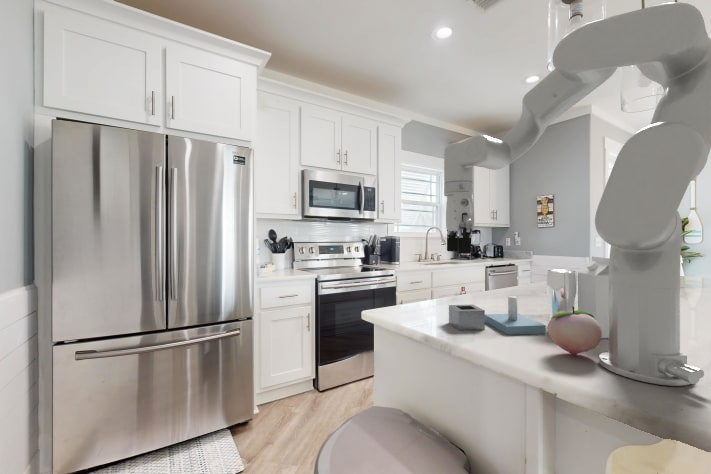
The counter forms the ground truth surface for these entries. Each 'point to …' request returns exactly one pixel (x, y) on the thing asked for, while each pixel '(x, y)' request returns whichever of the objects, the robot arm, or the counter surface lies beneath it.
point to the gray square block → (467, 317)
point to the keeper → (514, 321)
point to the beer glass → (561, 290)
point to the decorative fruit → (575, 331)
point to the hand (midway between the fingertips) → (458, 252)
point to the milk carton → (595, 291)
